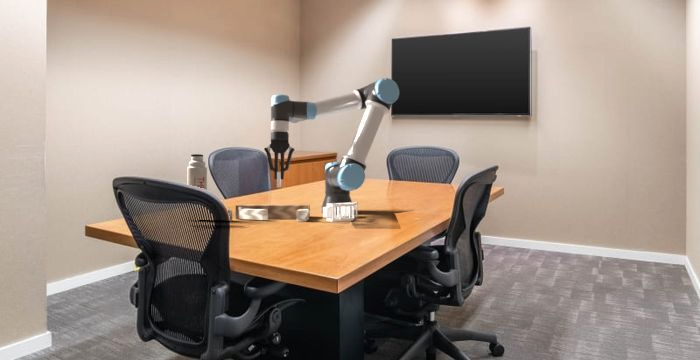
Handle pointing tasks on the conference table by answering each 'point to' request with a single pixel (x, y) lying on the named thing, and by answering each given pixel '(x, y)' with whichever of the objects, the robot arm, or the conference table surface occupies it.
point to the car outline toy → (345, 211)
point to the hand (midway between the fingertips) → (279, 187)
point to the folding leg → (253, 214)
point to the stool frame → (279, 211)
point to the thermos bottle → (197, 172)
